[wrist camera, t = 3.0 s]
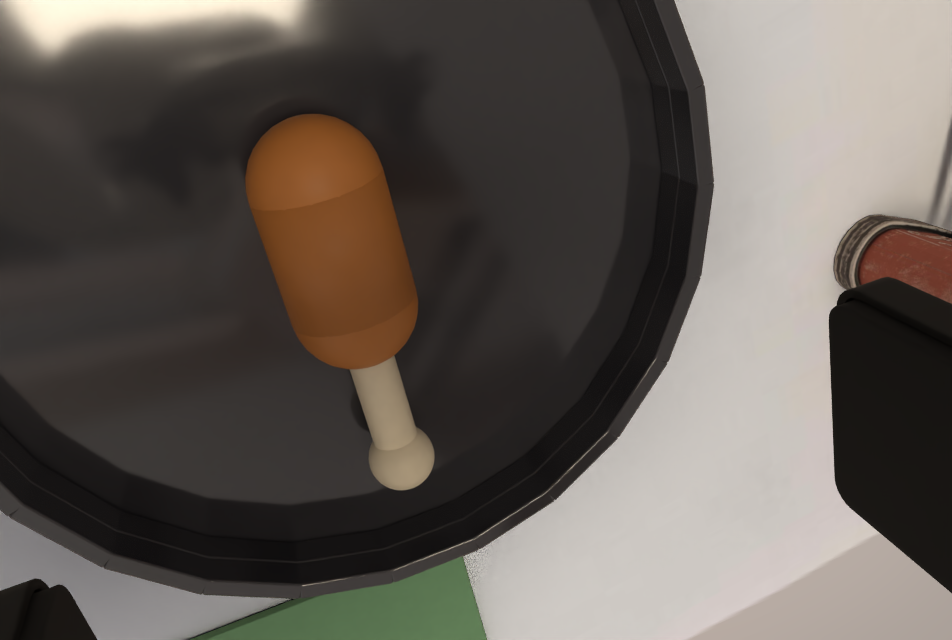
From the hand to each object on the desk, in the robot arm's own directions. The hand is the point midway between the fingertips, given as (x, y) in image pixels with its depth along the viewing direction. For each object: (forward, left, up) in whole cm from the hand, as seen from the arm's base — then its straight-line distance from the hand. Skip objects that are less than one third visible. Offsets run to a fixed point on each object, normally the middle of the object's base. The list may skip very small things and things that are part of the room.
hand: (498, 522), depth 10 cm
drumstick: (0, -2, -13) cm, 14 cm away
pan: (0, 0, -14) cm, 14 cm away
